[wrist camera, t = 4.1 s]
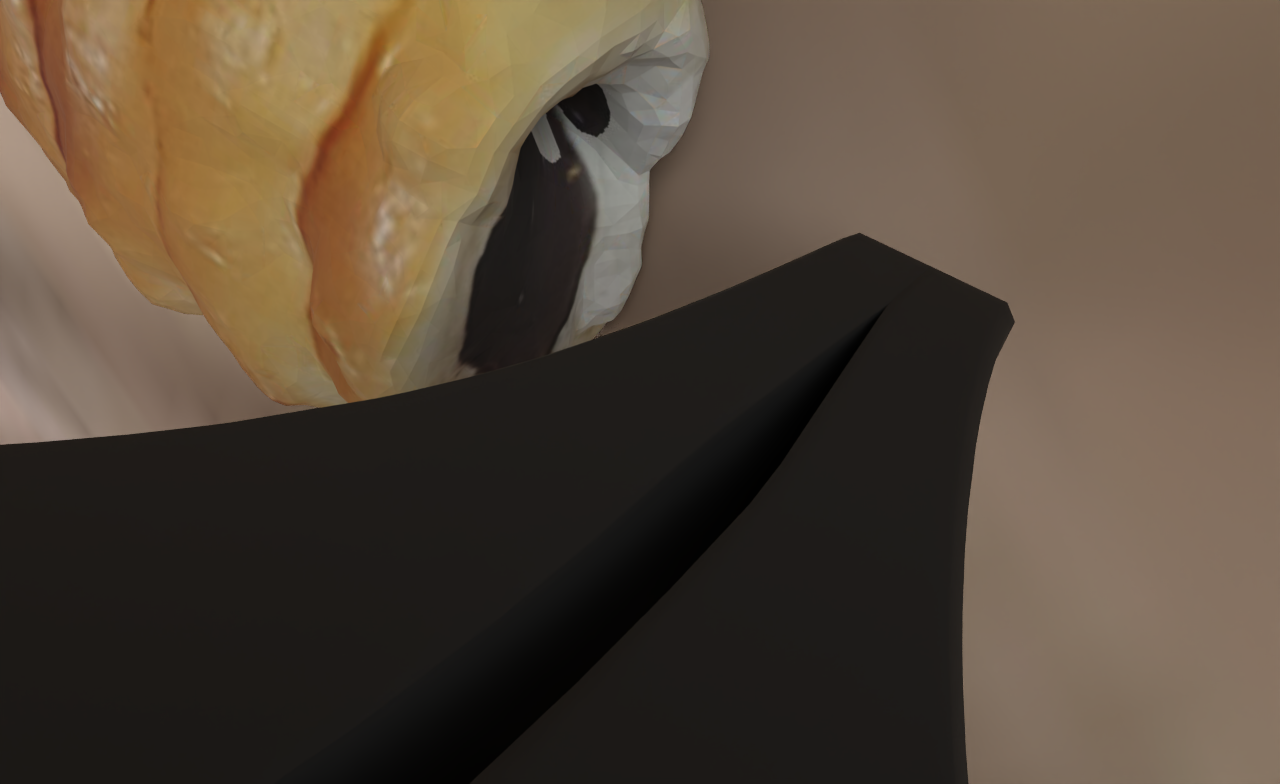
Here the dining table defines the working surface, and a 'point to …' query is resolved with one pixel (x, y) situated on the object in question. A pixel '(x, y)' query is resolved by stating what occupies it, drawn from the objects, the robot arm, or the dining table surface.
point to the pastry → (364, 169)
